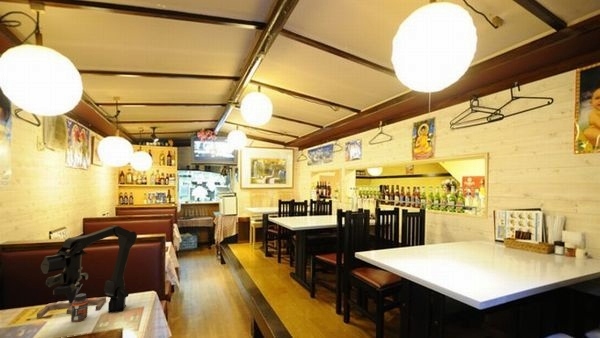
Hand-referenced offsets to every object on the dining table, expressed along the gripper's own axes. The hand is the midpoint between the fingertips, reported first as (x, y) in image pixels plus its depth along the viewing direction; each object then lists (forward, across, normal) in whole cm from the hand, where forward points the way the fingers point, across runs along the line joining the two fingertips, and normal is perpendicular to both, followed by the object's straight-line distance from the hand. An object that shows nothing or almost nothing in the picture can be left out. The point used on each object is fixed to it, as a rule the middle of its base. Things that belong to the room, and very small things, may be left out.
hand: (71, 302), depth 120 cm
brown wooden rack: (+12, -23, -7) cm, 27 cm away
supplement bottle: (+12, -10, 0) cm, 16 cm away
